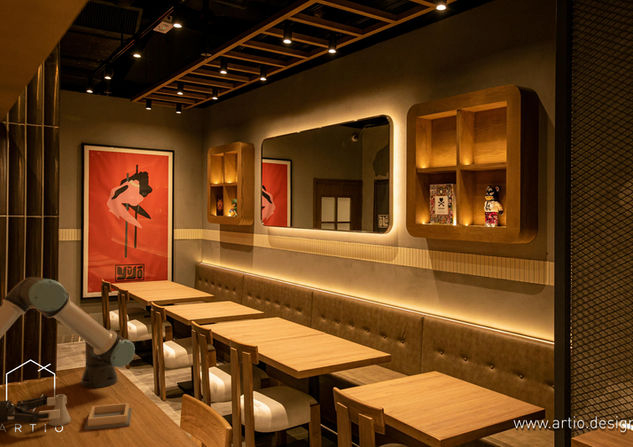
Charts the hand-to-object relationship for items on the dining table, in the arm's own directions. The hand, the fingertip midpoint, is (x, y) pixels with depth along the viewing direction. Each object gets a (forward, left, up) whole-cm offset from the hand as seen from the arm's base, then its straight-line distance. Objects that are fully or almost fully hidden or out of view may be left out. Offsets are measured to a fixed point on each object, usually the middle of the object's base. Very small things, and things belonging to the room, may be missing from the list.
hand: (63, 406), depth 191 cm
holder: (+2, +16, -6) cm, 17 cm away
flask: (0, -1, -6) cm, 6 cm away
